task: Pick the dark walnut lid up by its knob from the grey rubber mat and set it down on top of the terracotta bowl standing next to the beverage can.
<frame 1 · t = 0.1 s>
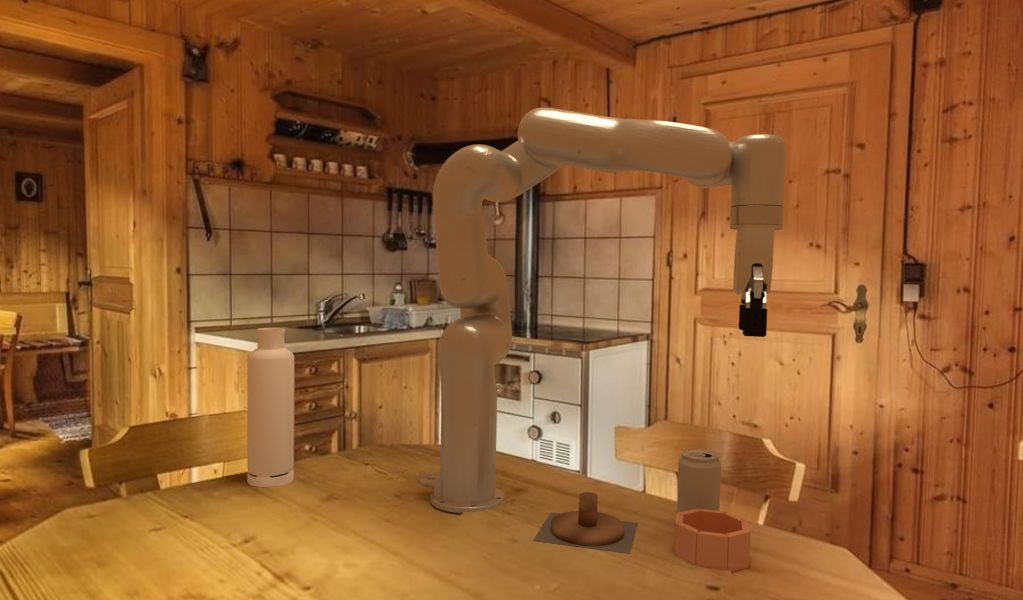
hand: (751, 333, 105), 31 cm above the table, fingers open, 9 cm apart
beverage can: (697, 530, 108), on the table
mat: (587, 535, 105), on the table
bottle: (270, 481, 128), on the table
lid: (587, 531, 105), point 1 cm above the table, touching mat
bowl: (710, 556, 98), on the table
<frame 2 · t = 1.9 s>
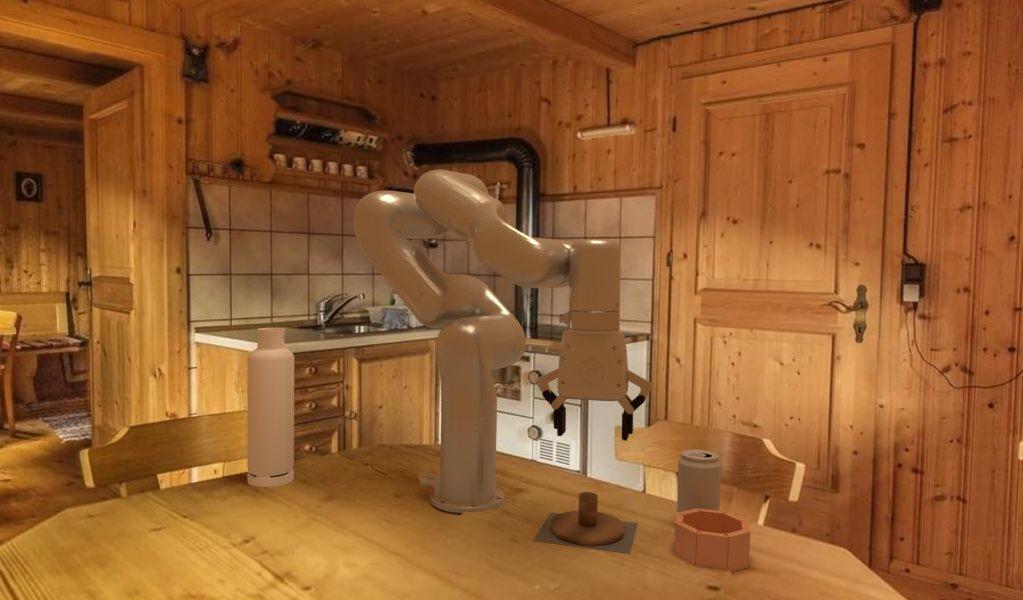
hand: (592, 436, 104), 15 cm above the table, fingers open, 9 cm apart
nothing on the table moved.
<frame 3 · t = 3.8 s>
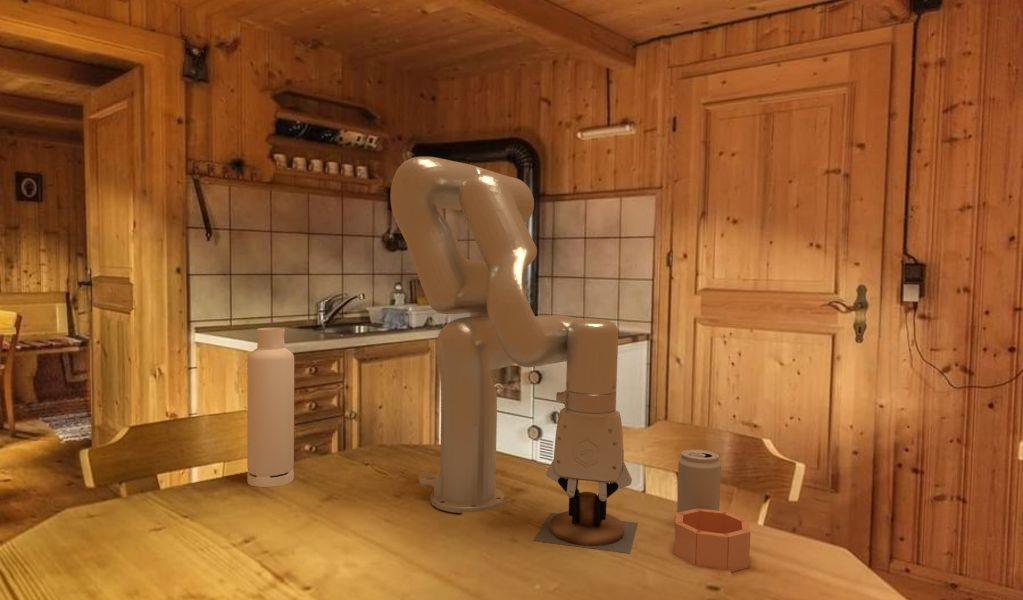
hand: (587, 521, 105), 2 cm above the table, fingers closed on lid, 2 cm apart
lid: (586, 531, 105), point 1 cm above the table, touching gripper, mat
everything else where it was.
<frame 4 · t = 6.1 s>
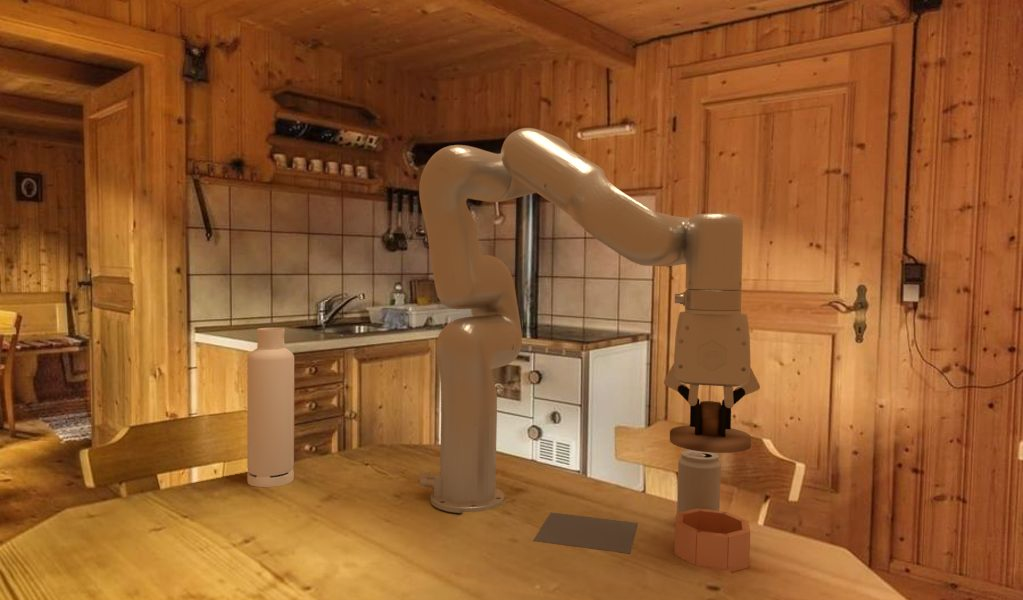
hand: (710, 432, 97), 18 cm above the table, fingers closed on lid, 2 cm apart
lid: (709, 442, 98), point 16 cm above the table, touching gripper
everything else where it was.
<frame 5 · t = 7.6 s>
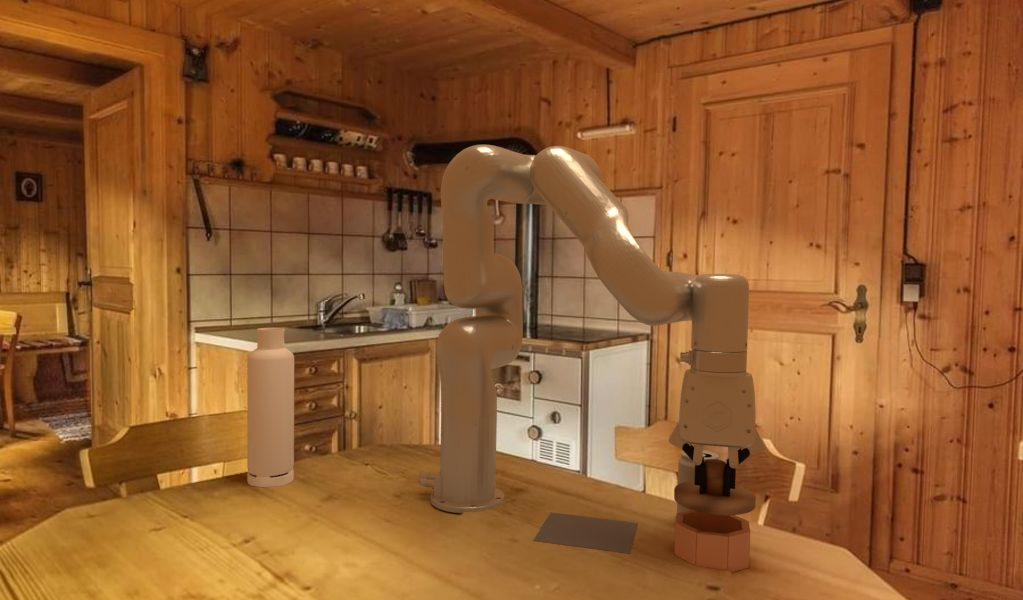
hand: (714, 490, 98), 10 cm above the table, fingers closed on lid, 2 cm apart
lid: (714, 501, 98), point 8 cm above the table, touching gripper
everything else where it was.
when the fingers open (8 cm above the table, at t = 8.5 s): lid drops 2 cm, resting on bowl.
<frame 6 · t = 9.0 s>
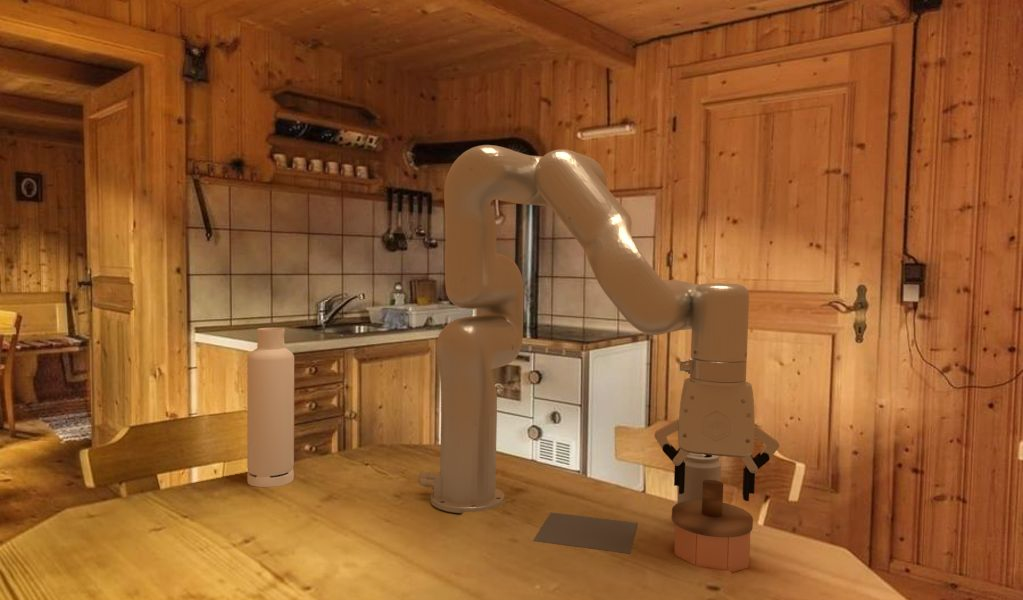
hand: (713, 494, 98), 9 cm above the table, fingers open, 8 cm apart
lid: (711, 521, 98), point 5 cm above the table, touching bowl
everything else where it was.
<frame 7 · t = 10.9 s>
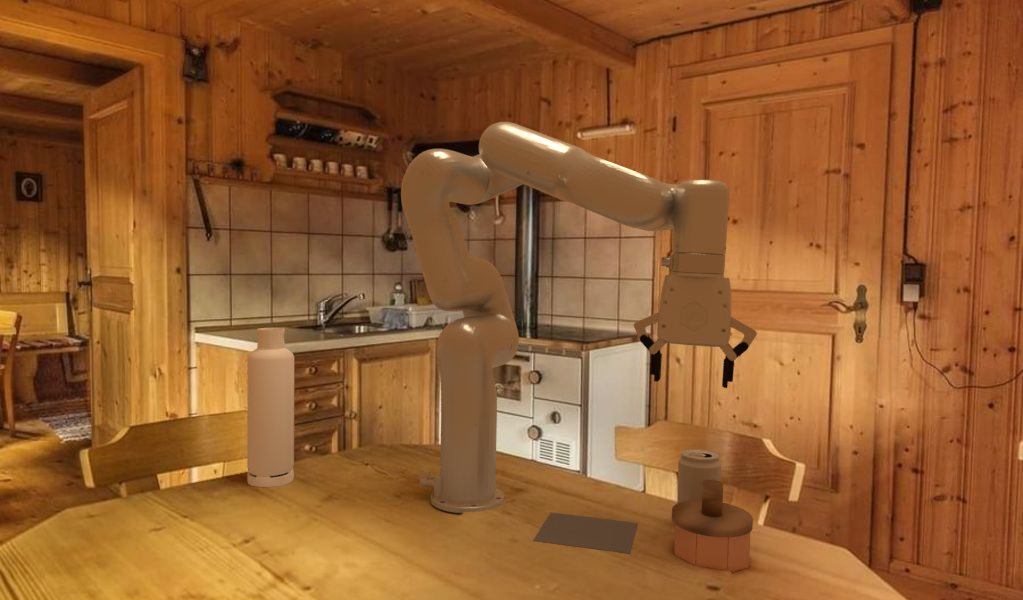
hand: (690, 383, 102), 24 cm above the table, fingers open, 9 cm apart
nothing on the table moved.
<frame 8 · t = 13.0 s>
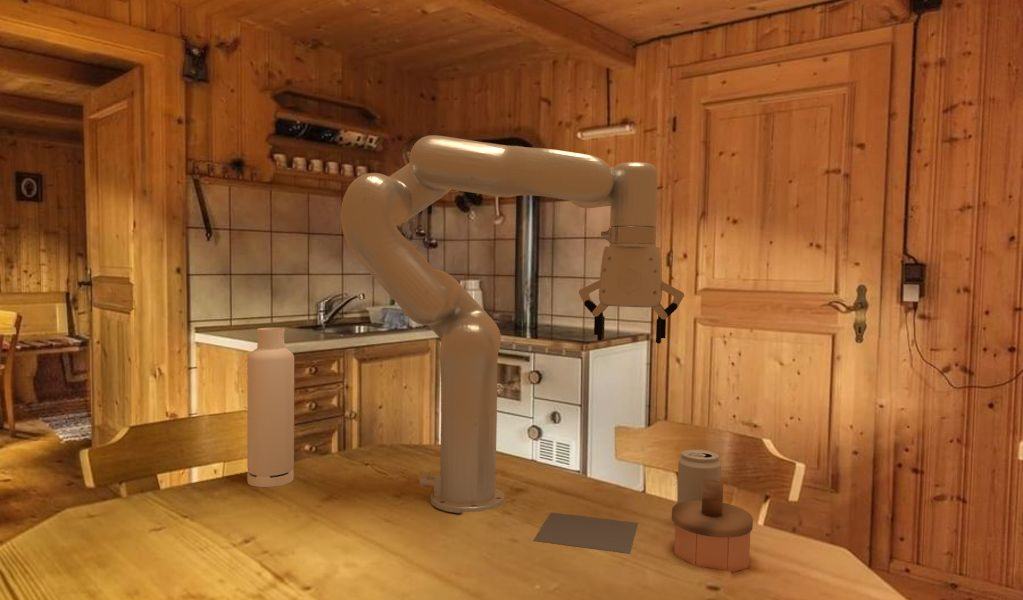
hand: (629, 341, 116), 28 cm above the table, fingers open, 9 cm apart
nothing on the table moved.
at the end: lid 0.1 cm off-centre on the bowl, point 5.0 cm above the bowl's base; lid touching bowl; the gripper is holding nothing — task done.
